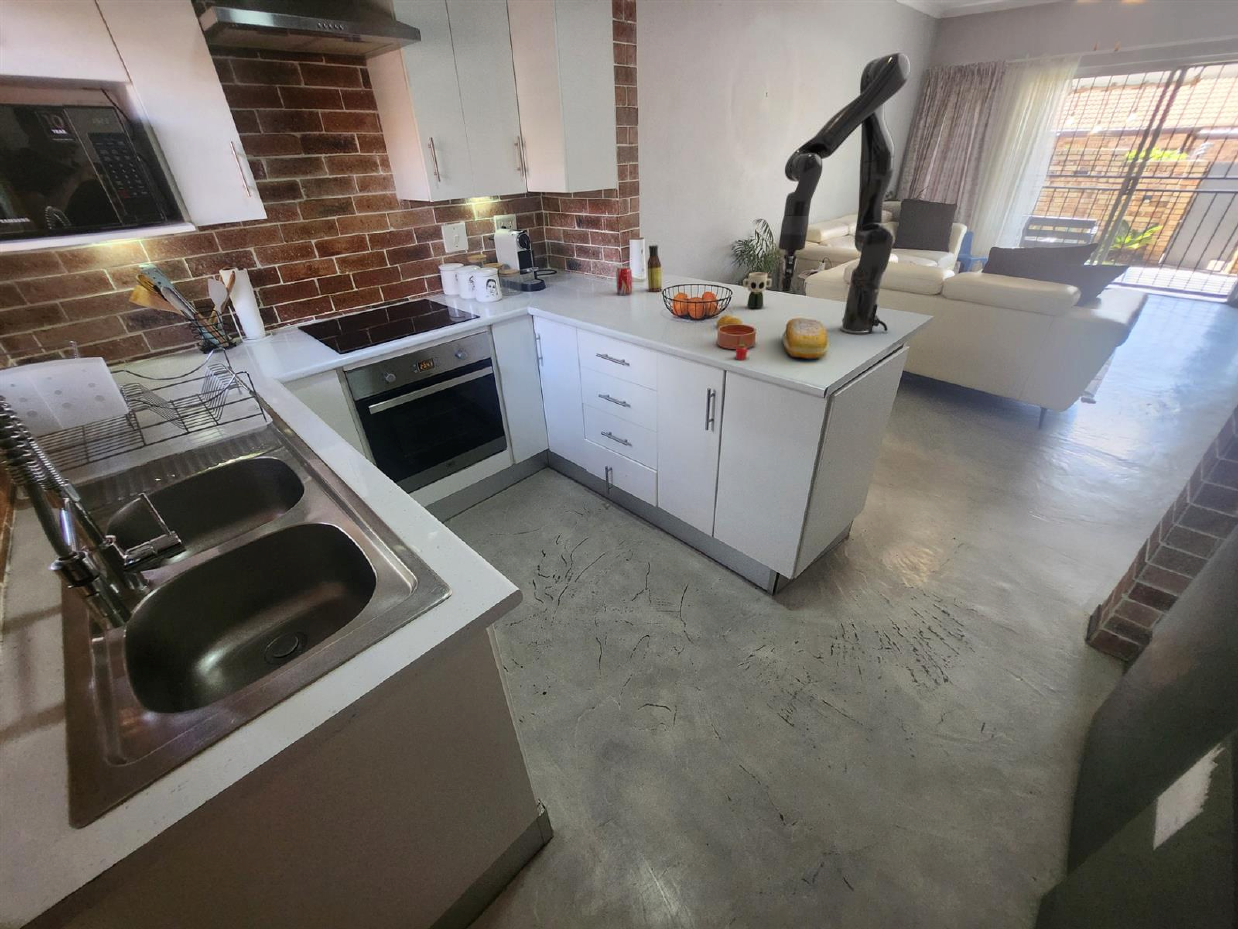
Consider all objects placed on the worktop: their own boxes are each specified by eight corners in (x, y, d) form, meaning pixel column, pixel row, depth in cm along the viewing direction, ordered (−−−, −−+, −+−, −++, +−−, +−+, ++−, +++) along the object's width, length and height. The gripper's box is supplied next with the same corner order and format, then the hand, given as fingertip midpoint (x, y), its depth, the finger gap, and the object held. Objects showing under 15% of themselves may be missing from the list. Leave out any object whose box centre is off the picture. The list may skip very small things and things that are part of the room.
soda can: (615, 293, 237) (613, 266, 231) (629, 291, 239) (628, 264, 232) (619, 296, 231) (618, 268, 225) (634, 294, 233) (633, 267, 227)
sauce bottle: (664, 289, 238) (664, 244, 228) (657, 292, 234) (657, 246, 224) (651, 288, 242) (651, 243, 231) (645, 291, 237) (644, 245, 227)
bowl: (754, 339, 171) (756, 324, 168) (754, 351, 161) (755, 335, 158) (718, 338, 174) (719, 323, 171) (715, 349, 164) (716, 334, 161)
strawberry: (746, 356, 157) (747, 343, 155) (746, 360, 154) (747, 346, 152) (735, 356, 158) (736, 343, 156) (734, 359, 155) (735, 346, 153)
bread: (784, 361, 152) (788, 335, 148) (778, 334, 174) (781, 311, 170) (832, 363, 149) (836, 336, 145) (819, 335, 171) (823, 311, 167)
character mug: (741, 309, 203) (744, 276, 196) (741, 305, 209) (743, 272, 202) (769, 309, 201) (773, 275, 194) (768, 305, 207) (771, 272, 200)
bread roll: (732, 332, 178) (733, 321, 176) (713, 327, 184) (713, 316, 182) (747, 327, 183) (748, 316, 181) (727, 322, 189) (728, 311, 187)
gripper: (808, 235, 143) (798, 293, 151) (805, 228, 155) (796, 283, 163) (781, 234, 144) (773, 292, 153) (780, 228, 156) (772, 282, 165)
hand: (785, 288), depth 158 cm, fingers open, 8 cm apart
